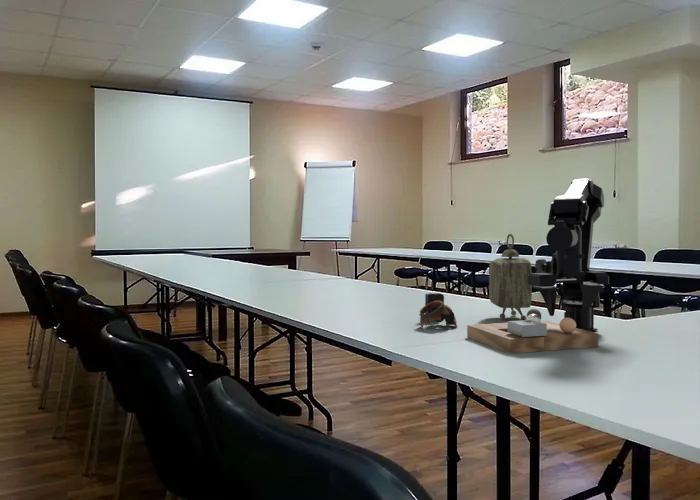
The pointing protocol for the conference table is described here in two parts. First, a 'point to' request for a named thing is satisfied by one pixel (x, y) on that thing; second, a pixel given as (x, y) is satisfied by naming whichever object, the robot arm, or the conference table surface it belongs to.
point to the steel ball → (533, 317)
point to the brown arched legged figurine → (437, 314)
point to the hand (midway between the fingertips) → (568, 314)
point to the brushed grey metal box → (527, 328)
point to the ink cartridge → (433, 299)
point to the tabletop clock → (510, 281)
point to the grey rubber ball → (534, 312)
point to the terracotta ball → (567, 325)
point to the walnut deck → (531, 338)
